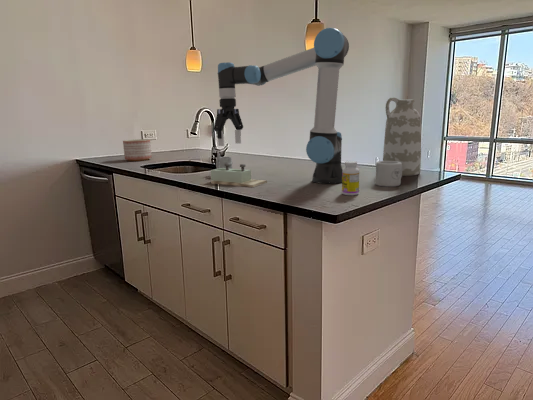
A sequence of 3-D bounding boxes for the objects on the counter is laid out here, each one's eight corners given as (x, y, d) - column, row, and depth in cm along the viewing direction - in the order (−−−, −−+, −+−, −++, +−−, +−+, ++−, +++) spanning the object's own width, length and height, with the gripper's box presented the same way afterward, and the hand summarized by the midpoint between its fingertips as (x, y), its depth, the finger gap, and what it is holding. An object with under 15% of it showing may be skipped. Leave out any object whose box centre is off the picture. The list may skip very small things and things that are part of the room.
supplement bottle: (339, 192, 159) (340, 161, 157) (355, 192, 160) (356, 160, 157) (344, 196, 153) (345, 163, 150) (361, 195, 153) (362, 162, 151)
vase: (403, 169, 215) (407, 97, 206) (428, 174, 198) (433, 95, 189) (372, 172, 208) (374, 98, 199) (395, 177, 191) (398, 96, 182)
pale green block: (251, 180, 188) (250, 169, 187) (241, 183, 181) (241, 172, 180) (221, 177, 197) (220, 168, 196) (211, 180, 190) (210, 170, 189)
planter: (120, 161, 286) (117, 141, 283) (132, 158, 305) (131, 139, 301) (144, 161, 283) (142, 140, 280) (156, 158, 301) (154, 139, 298)
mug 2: (387, 187, 167) (388, 164, 165) (370, 184, 176) (370, 161, 174) (410, 184, 173) (411, 161, 171) (392, 181, 182) (393, 159, 180)
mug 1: (225, 177, 204) (223, 154, 202) (211, 175, 213) (210, 153, 210) (236, 175, 210) (235, 153, 207) (222, 173, 218) (221, 151, 215)
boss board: (267, 182, 186) (266, 163, 184) (253, 187, 176) (252, 167, 174) (226, 179, 198) (225, 161, 196) (211, 183, 188) (210, 164, 186)
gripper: (236, 98, 193) (238, 142, 198) (203, 98, 172) (206, 146, 177) (249, 98, 189) (251, 142, 194) (217, 97, 168) (220, 147, 173)
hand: (230, 144), depth 185 cm, fingers open, 13 cm apart
